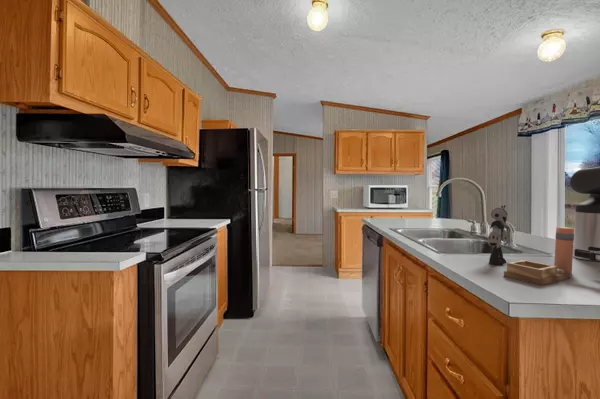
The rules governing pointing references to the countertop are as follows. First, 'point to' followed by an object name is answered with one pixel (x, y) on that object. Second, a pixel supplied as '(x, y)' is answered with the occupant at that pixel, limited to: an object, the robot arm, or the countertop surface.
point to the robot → (498, 236)
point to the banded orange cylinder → (564, 248)
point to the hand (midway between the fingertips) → (581, 251)
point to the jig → (535, 272)
